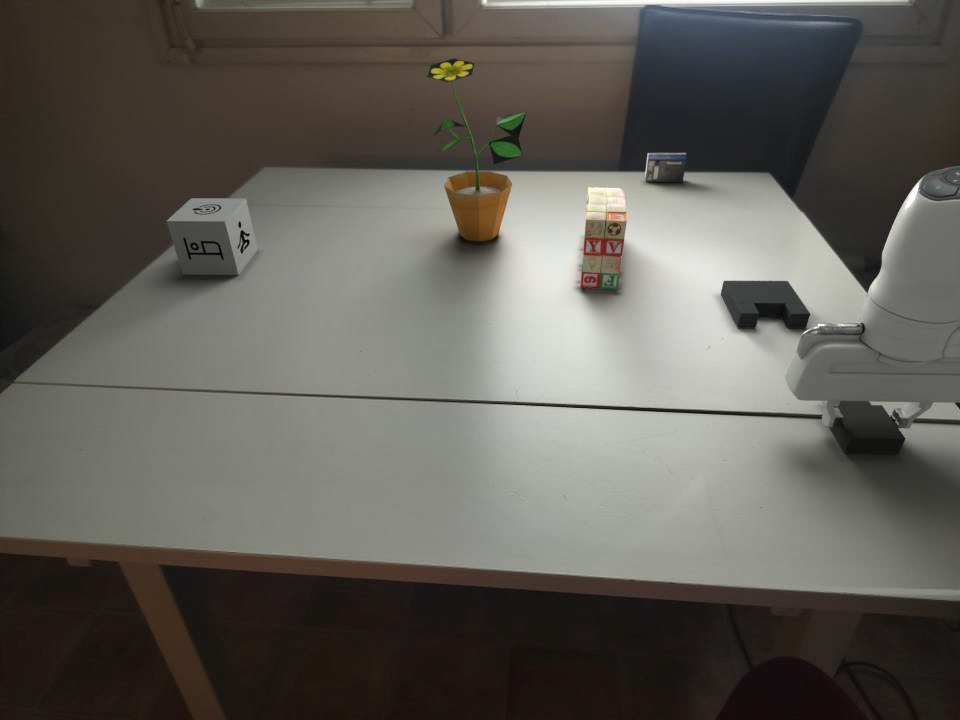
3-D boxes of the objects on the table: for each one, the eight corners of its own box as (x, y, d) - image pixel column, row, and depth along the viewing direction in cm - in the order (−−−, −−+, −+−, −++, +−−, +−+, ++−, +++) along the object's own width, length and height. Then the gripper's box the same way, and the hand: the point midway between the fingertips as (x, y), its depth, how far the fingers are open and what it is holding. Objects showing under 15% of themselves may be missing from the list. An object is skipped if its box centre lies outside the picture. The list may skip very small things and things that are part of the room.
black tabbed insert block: (864, 405, 84) (871, 389, 82) (898, 454, 76) (905, 438, 75) (816, 404, 84) (821, 389, 83) (844, 454, 77) (851, 437, 75)
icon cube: (183, 274, 116) (166, 221, 111) (205, 249, 125) (191, 198, 119) (238, 275, 116) (224, 221, 110) (257, 249, 124) (245, 198, 118)
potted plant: (412, 233, 128) (397, 67, 111) (484, 207, 138) (482, 50, 121) (472, 264, 117) (466, 85, 100) (546, 233, 127) (553, 65, 110)
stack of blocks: (584, 233, 127) (589, 170, 120) (617, 235, 126) (624, 171, 119) (580, 288, 110) (585, 218, 102) (618, 290, 109) (627, 220, 102)
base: (783, 294, 107) (787, 280, 105) (806, 328, 98) (810, 313, 97) (720, 294, 107) (723, 280, 106) (737, 327, 99) (740, 313, 98)
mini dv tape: (645, 181, 148) (648, 155, 145) (644, 179, 150) (647, 152, 146) (682, 181, 148) (687, 155, 144) (681, 179, 149) (685, 152, 146)
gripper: (815, 340, 68) (782, 441, 76) (1023, 342, 67) (968, 444, 75) (794, 308, 73) (765, 406, 81) (987, 310, 72) (939, 408, 80)
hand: (864, 424), depth 78 cm, fingers open, 6 cm apart
